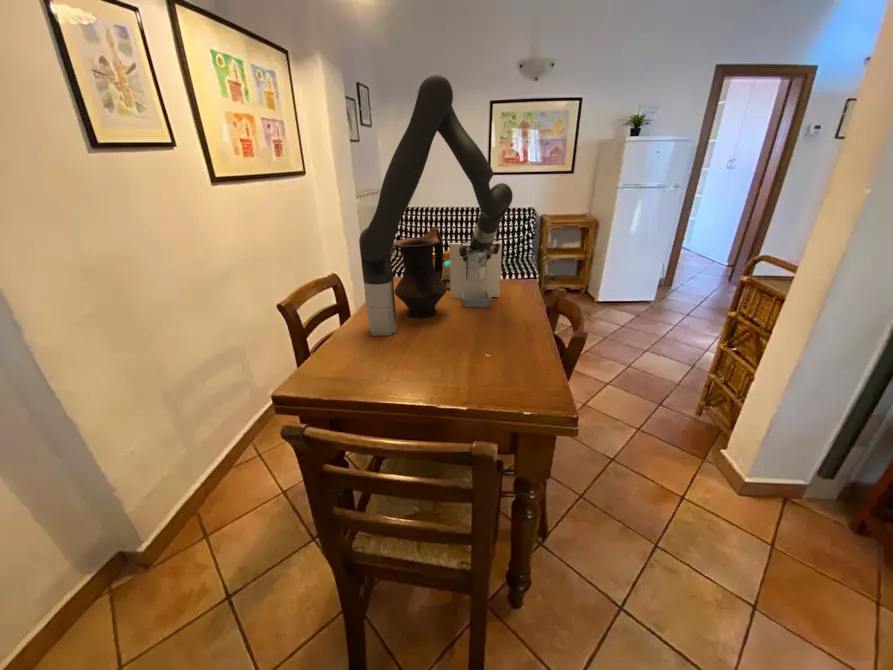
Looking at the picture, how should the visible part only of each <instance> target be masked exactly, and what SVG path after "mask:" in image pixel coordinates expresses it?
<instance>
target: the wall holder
mask: <svg viewBox="0 0 893 670" xmlns="http://www.w3.org/2000/svg"><path fill="white" fill-rule="evenodd" d="M461 243H462V242H450V243H449V260H450V291H449V293H450V297H451V298H450V299H461V304H462V308H473V307H474V308H478V307H480V308H481V307H482V308H484V307H486V306H487V307H488V306H491V307H492V301H493V300H492V299H493V298H491V297H499V298H500V295H501V294H500V293H501V272H502V253H503V252H502V251H503V242H501V241H499V243H500V248H499V250H498V253H497V254H492V255H491V258H490V259H489V260H487V271H486V279H484V280H482V281H480V282H475V281H469V280H466V262H465V261H463V256H462V257H461V256H460V252H459V249H460V246H461ZM493 247H494V246H492V247H491V249H493ZM488 308H489V307H488Z"/></svg>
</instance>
